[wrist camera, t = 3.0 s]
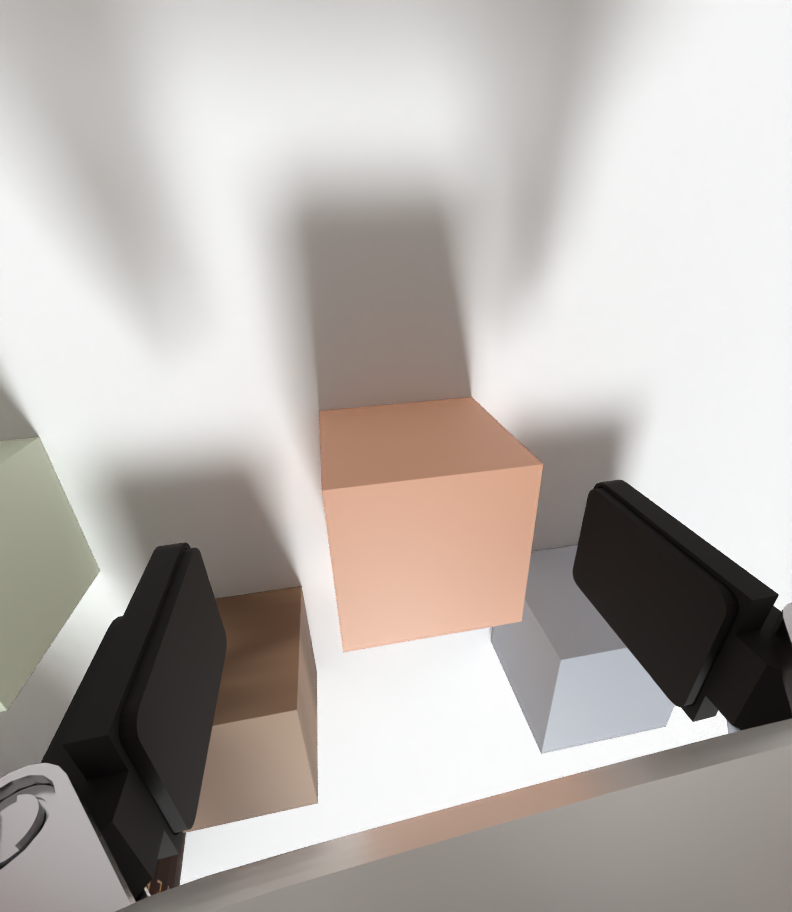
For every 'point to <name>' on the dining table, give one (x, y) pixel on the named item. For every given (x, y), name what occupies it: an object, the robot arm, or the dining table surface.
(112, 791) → the robot arm
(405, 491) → the terracotta cube
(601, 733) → the slate cube
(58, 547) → the sage cube
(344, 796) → the dining table surface
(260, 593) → the walnut cube
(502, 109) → the dining table surface
